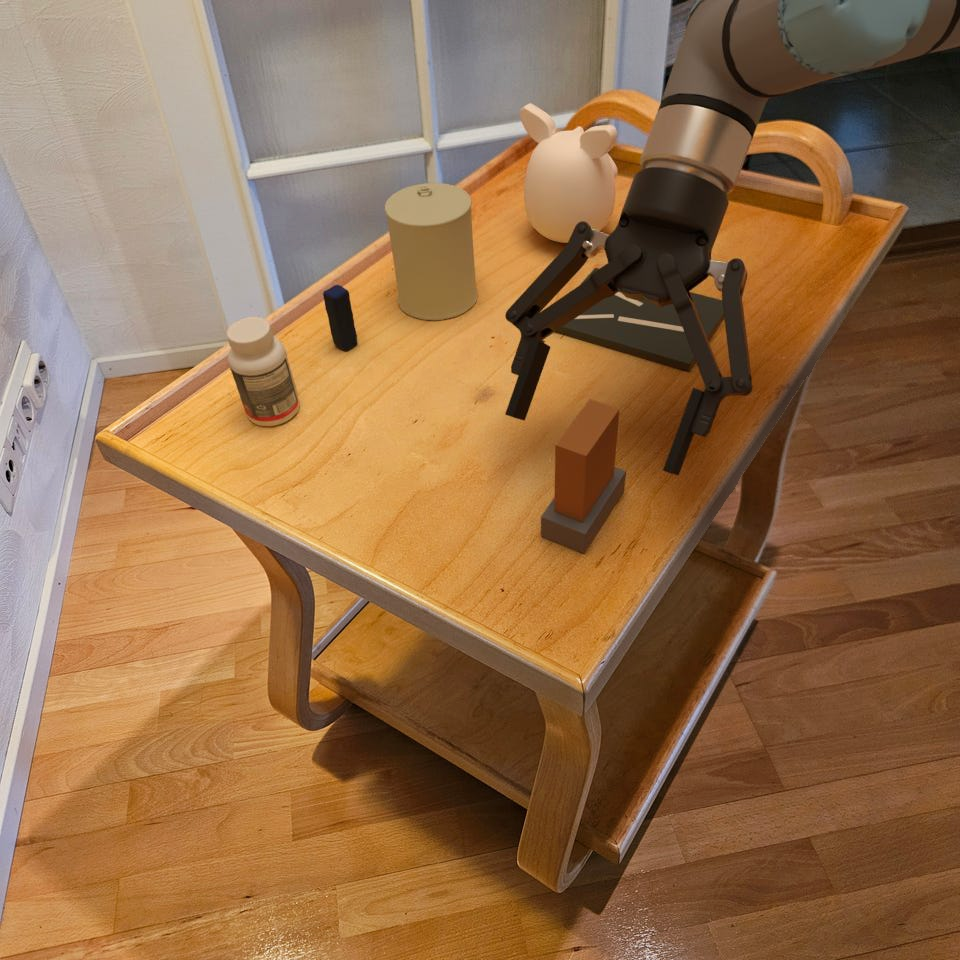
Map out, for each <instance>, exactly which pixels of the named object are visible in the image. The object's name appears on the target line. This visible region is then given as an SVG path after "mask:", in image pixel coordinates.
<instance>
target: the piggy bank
mask: <svg viewBox="0 0 960 960" xmlns="http://www.w3.org/2000/svg"><path fill="white" fill-rule="evenodd" d="M519 117H520V121H521V124H522V127H523V128H524V130H525V132H526V133H527V134H528V136H529V137H530V138H531V139H532V140H533V141H535V142H536V143H538V144H537V145H536V146H535V148H534V149H533V151H532V153H531V155H530V158H529V160H528V163H527V167H526V173H525V176H524V177H525V178H524V185H523V201H524V202H523V203H524V209H525V213H526V217H527V220H529V221H528V222H529V223H530V224H531V226H532V228H534V230H535V231H537V233H539V234H540V235H541V236H542V237H544V238H546V239H548V240H550V241H553V242H556V243H563V244H567V243H568V241H569V239H570V237H571V235H572V233H573V231H574V228H575V226H576V225H577V224H578V223H579V222H582V221H584V222H587V223H588V224H589V225H590V227H591V228H593V229H595V230H598V231H600V232H602V230H603V229H604V228H605V227H606V226H607V224H608V223H609V221H610V219H611V217H612V215H613V212H614V210H615V205H616V196H617V195H616V193H617V192H616V191H617V190H616V178H617V176H618V173H619V172H618V167H617V165H616V163H615V161H614V160H613V158H612V157H611V155H610V154H609V152H610V151H611V150H613V148H614V147H615V145H616V144H617V141H618V140H617V139H618V130H617V128H616V126H614V125H613V124H603V125H595V126H592V127H589V128H587V130H585V131H584V128H583V127H582V126H581V125H579V126H576V128H574V129H570V130H562V131H561V130H560V131H557V129H556V128H557V127H556V123H555V121H554V119H553V118H552V116H551V115H550V114H548V113H547V112H546V111H545V110H543V109H541V108H540V107H538V106H537V105H535V104H534V103H531V102H530V103H527V104H526V105H524V106H523V107H521V109H520V111H519ZM556 131H557V132H556Z"/></svg>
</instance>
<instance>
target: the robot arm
mask: <svg viewBox="0 0 960 960" xmlns="http://www.w3.org/2000/svg"><path fill="white" fill-rule="evenodd" d="M684 29H685V30H684V32H683V36H682V39H681V42H680V44H679V47H678V50H677V53H676V57H675V60H674V62H673V65H672V69H671V71H670V73H669V77H668V80H667V83H666V86H665V89H664V92H663V94H662V98H661V100H660V104H659V107H658V109H657V112H656V115H655V117H654V120H653V123H652V125H651V128H650V130H649V134H648V136H647V139H646V142H645V145H644V147H643V150H642V152H641V156H640V158H639V165H640V167H641V169H640V170H639V171H637V172H636V173H635V174H634V176H633V177H632V181H631V184H630V187H629V190H628V193H627V195H626V198H625V201H624V204H623V206H622V209H621V212H620V215H619V220H618V223H617V225H616V227H615V228H614V229H613V231H612V232H611V233H610V234H608V233H605V232H602V231H598V230H595V229H593V228H591V227H590V225H589V224H588V223H587V222H584V221H582V222H579V223H578V224H577V225H576V226H575V228H574V231H573V233H572V235H571V237H570V239H569V241H568V243H566V245H565V247H564V248H563V249H562V250H561V251H560V253H558V255H556V257H555V258H554V259H552V261H551V262H550V263H549V264H548V265H547V266H546V267H545V268H544V269H543V270H542V272H541V273H540V274H539V275H538V276H537V277H536V278H535V280H534V281H533V282H532V283H531V284H530V285H529V286H528V287H527V288H526V289H525V290H524V291H523V293H522V294H521V295H520V296H519V297H518V298H517V299H516V300H515V301H514V302H513V303H512V304H511V306H510V307H509V308H508V309H507V310H506V312H505V319H506V321H507V322H509V323H510V324H511V325H513V326H514V327H515V328H516V329H517V330H518V331H519V332H520V339H519V342H518V344H517V349H516V351H515V353H514V357H513V360H512V363H511V365H510V373H511V374H513V375H514V376H517V378H516V382H515V384H514V387H513V390H512V393H511V396H510V399H509V402H508V404H507V407H506V409H505V414H504V416H508V417H511V418H514V419H517V420H521V421H526V418H527V415H528V413H529V410H530V408H531V404H532V401H533V399H534V396H535V394H536V390H537V387H538V386H539V385H538V384H539V382H540V379H541V376H542V374H543V370H544V367H545V364H546V361H547V360H548V359H547V358H548V356H549V353H550V350H551V346H550V345H548V344H547V343H546V341H545V339H547V338H548V337H550V336H551V335H552V334H554V333H556V332H555V331H557V330H558V329H560V328H561V327H563V326H564V325H566V324H567V323H569V322H570V321H572V320H573V319H575V318H576V317H578V316H579V315H581V314H582V313H584V312H585V311H587V310H588V309H590V308H591V307H593V306H594V305H596V304H597V303H599V302H600V301H602V300H603V299H605V298H609V297H611V296H613V295H615V294H616V293H618V292H619V291H620V292H621V293H622V294H623V295H624V296H625V297H626V298H630V299H633V300H646V301H648V302H650V303H651V304H653V305H655V306H659V307H663V306H667V305H670V304H673V305H674V308H675V310H676V312H677V314H678V317H679V319H680V322H681V324H682V327H683V330H684V332H685V335H686V337H687V340H688V343H689V345H690V348H691V350H692V353H693V356H694V358H695V364H696V366H697V368H698V371H699V373H700V376H701V379H702V381H703V384H704V390H702V389H698V388H696V387H693V388H692V389H691V393H690V395H689V398H688V401H687V403H686V406H685V409H684V411H683V414H682V417H681V419H680V422H679V425H678V428H677V431H676V433H675V436H674V439H673V442H672V444H671V447H670V450H669V452H668V455H667V457H666V459H665V463H664V466H663V468H662V471H664V472H666V473H669V474H672V475H675V476H680V473H681V470H682V467H683V465H684V462H685V459H686V458H687V454H688V452H689V449H690V446H691V444H692V441H693V438H694V435H696V436H699V437H701V438H706V437H707V436H708V434H710V433H711V430H712V427H713V424H714V422H715V419H716V416H717V414H718V411H719V408H720V405H721V404H722V401H723V400H724V399H726V398H727V397H731V396H735V397H736V396H742V397H746V396H749V395H750V394H752V392H753V379H752V378H753V377H752V368H751V363H750V362H751V361H750V353H749V352H750V351H749V344H748V335H747V329H746V328H747V327H746V321H745V320H746V319H745V311H744V305H743V303H744V302H743V296H744V291H745V287H746V283H747V279H748V271H747V267H746V265H745V263H744V261H743V260H742V259H741V258H738V257H736V258H732V259H730V260H729V261H726V260H725V261H724V260H715V259H712V251H713V249H714V248H713V247H714V246H715V242H716V240H717V237H718V234H719V232H720V229H721V227H722V224H723V221H724V219H725V216H726V212H727V210H728V207H729V203H730V202H729V199H728V196H727V195H728V194H731V193H732V192H733V191H734V189H735V188H736V185H737V182H738V179H739V177H740V175H741V171H742V169H743V166H744V163H745V161H746V158H747V155H748V152H749V150H750V147H751V144H752V141H753V138H754V135H755V132H756V129H757V127H758V125H759V122H760V119H761V117H762V114H763V111H764V109H765V106H766V104H767V102H768V100H769V99H772V98H778V97H780V96H783V95H786V94H789V93H790V92H794V91H796V90H799V89H803V88H807V87H809V86H812V85H816V84H819V83H822V82H826V81H829V80H832V79H836V78H840V77H842V76H843V77H844V76H847V75H850V74H851V75H852V74H855V73H859V72H864V71H867V70H871V69H875V68H879V67H884V66H888V65H892V64H895V63H899V62H903V61H907V60H912V59H915V58H919V57H923V56H926V55H928V54H932V53H937V52H941V51H945V50H950V49H954V48H958V47H960V0H696V1H695V2H694V5H692V8H691V9H690V11H689V15H688V17H687V19H686V24H685V28H684ZM602 250H603V251H604V252H605V255H606V259H607V263H605V264H604V265H603V266H602V267H600V268H599V270H597V271H596V272H594V273H593V274H592V275H591V277H590V278H589V279H588V280H587V281H585V282H584V283H582V282H581V283H582V284H581V283H580V284H581V285H580V284H579V285H578V286H576V287H575V288H573V289H572V290H571V291H569V292H568V293H566V294H565V295H563V296H562V297H561V298H559V299H557V300H556V301H554V302H553V303H551V304H550V305H549V306H547V305H548V304H549V303H550V302H551V301H552V300H553V299H554V298H555V297H556V296H558V294H559V293H560V292H561V291H562V289H563V288H564V287H565V286H566V285H567V284H568V283H569V282H570V281H571V280H572V279H573V277H575V276H576V274H577V273H579V271H581V269H582V268H583V267H584V265H585V264H586V263H587V261H588V259H589V258H594V257H595V256H596V255H597V254H599V252H600V251H602ZM709 277H712V278H713V280H714V286H715V288H716V289H717V290H718V292H721V300H722V302H723V311H724V318H723V320H724V326H725V334H726V335H725V336H726V345H727V351H728V361H729V369H730V376H722V375H723V374H722V373H721V370H720V368H719V367H720V366H719V364H718V362H717V359H716V357H715V354H714V352H713V349H712V347H711V345H710V342H709V341H710V340H709V341H708V339H707V336H706V334H705V331H704V329H703V326H702V323H701V321H700V318H699V316H698V313H697V310H696V307H695V304H694V302H693V299H692V297H691V294H690V292H691V291H692V290H693V289H694V288H696V287H697V286H699V285H700V284H702V282H704V281H705V280H707V279H708V278H709Z"/></svg>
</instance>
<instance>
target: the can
mask: <svg viewBox="0 0 960 960" xmlns="http://www.w3.org/2000/svg"><path fill="white" fill-rule="evenodd" d="M472 203H473V202H472V198H471V196H470V193H468V192H467V191H466V190H464V189H463V188H462V187H459V186H457V185H452V184H448V183H443V182H441V183H440V182H426V183H419V184H414V185H410V186H407V187H404V188H402V189H399V190H398V191H396V192H395V193H393V194H391V195H390V196H389V197H388V198H387V200H386V202H385V203H384V213H385V215H386V222H387V229H388V235H389V241H390V247H391V253H392V260H393V261H392V262H393V268H394V274H395V282H396V289H397V297H396V300H397V304H398V307H399V308H400V310H401V311H403V312H404V313H405V314H407V315H408V316H410V317H412V318H414V319H418V320H423V321H442V320H449V319H453V318H456V317H458V316H461V315H463V314H464V313H466V312H468V311H469V310H470V309H471V308H473V307H474V305H475V304H476V302H477V300H478V298H479V290H478V287H477V280H476V268H475V253H474V252H475V251H474V238H473V235H474V234H473V215H472Z"/></svg>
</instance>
